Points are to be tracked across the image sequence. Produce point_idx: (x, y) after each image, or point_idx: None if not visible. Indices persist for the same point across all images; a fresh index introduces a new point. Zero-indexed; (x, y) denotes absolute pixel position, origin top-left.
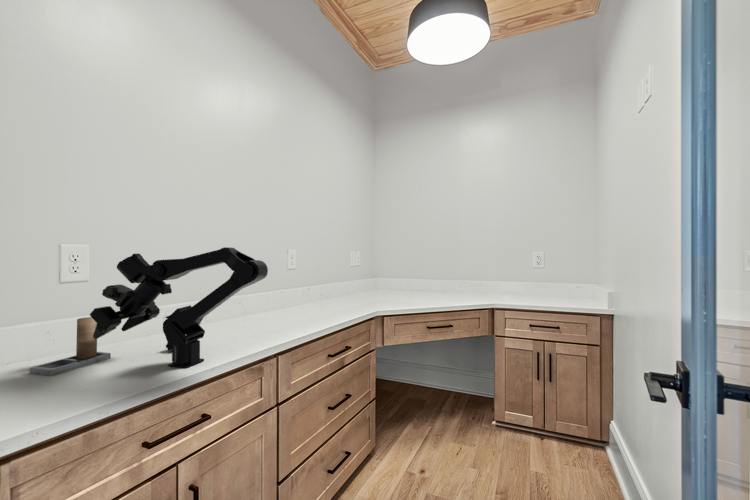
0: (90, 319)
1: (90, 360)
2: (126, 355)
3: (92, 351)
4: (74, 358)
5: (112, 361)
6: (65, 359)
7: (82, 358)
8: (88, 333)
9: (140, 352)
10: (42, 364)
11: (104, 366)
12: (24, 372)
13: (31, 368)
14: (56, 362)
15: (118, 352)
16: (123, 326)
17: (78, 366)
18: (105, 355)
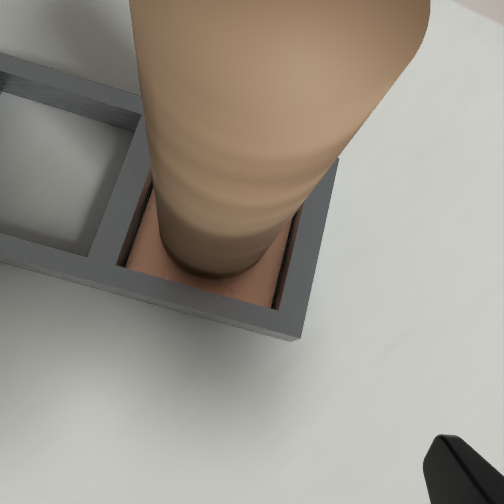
0: (195, 73)
1: (148, 299)
2: (360, 414)
3: (204, 260)
4: None
5: (211, 423)
6: (142, 129)
7: (159, 229)
8: (177, 177)
9: None
10: (34, 68)
11: (84, 462)
12: (14, 26)
13: None
14: (103, 107)
15: (423, 291)
16: (462, 487)
17: (70, 279)
18: (259, 328)
